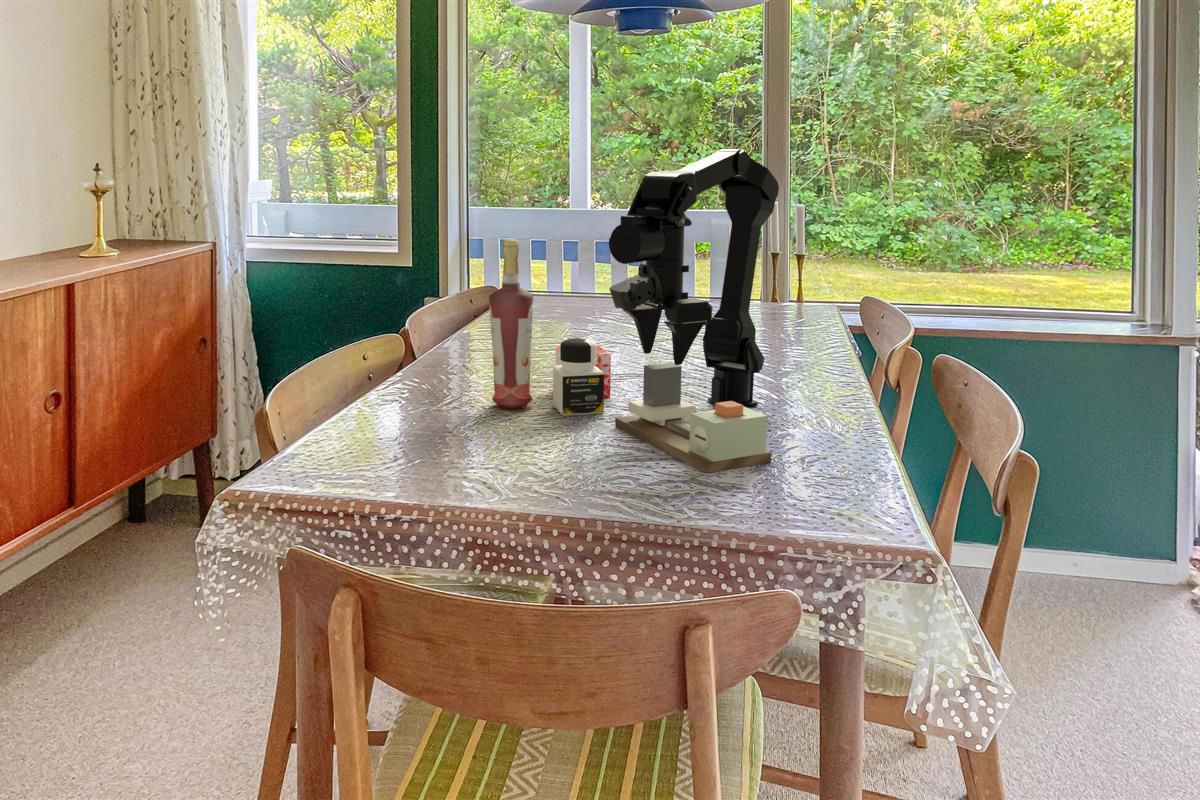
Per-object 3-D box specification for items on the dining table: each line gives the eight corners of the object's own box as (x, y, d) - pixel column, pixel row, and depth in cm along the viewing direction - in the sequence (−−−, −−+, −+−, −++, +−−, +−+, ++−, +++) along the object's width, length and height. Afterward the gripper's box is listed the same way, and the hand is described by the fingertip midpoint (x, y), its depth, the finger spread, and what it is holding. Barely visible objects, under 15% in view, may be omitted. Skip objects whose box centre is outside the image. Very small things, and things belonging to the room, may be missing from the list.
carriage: (671, 410, 169) (672, 359, 167) (695, 421, 164) (696, 367, 161) (628, 416, 166) (629, 363, 164) (650, 427, 160) (652, 372, 158)
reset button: (730, 427, 150) (731, 400, 150) (742, 432, 148) (743, 405, 147) (714, 430, 149) (715, 402, 148) (725, 435, 147) (726, 407, 146)
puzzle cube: (555, 389, 191) (555, 347, 189) (597, 387, 193) (597, 345, 191) (567, 400, 183) (567, 356, 181) (610, 397, 186) (610, 353, 184)
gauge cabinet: (740, 442, 154) (742, 406, 153) (765, 453, 149) (767, 415, 148) (686, 450, 150) (687, 413, 148) (710, 462, 145) (711, 423, 143)
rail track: (673, 418, 172) (674, 404, 171) (770, 462, 150) (771, 445, 149) (615, 426, 167) (615, 411, 166) (706, 473, 145) (707, 455, 144)
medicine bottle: (562, 416, 173) (562, 345, 170) (552, 406, 179) (552, 336, 176) (604, 414, 174) (605, 343, 172) (592, 403, 181) (593, 335, 178)
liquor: (532, 412, 175) (531, 243, 168) (488, 411, 175) (485, 242, 168) (535, 401, 182) (534, 238, 175) (493, 400, 182) (490, 238, 175)
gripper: (588, 253, 163) (588, 352, 167) (649, 268, 147) (647, 376, 151) (650, 250, 168) (648, 346, 172) (716, 263, 152) (712, 369, 156)
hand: (662, 358), depth 162 cm, fingers open, 9 cm apart
